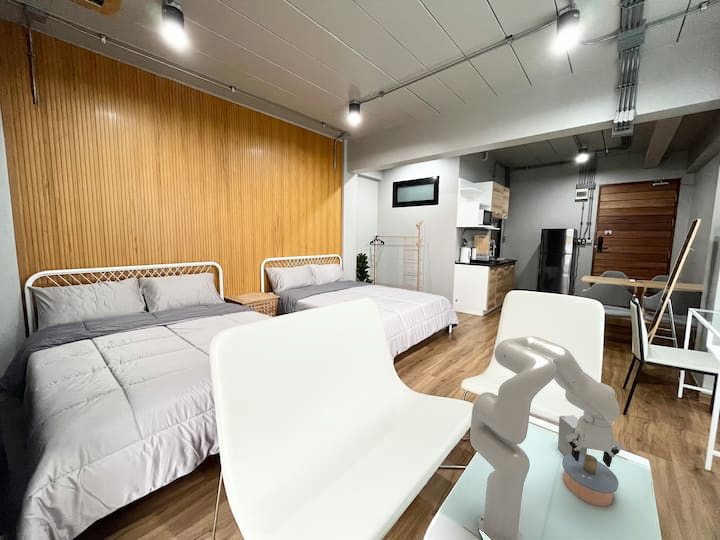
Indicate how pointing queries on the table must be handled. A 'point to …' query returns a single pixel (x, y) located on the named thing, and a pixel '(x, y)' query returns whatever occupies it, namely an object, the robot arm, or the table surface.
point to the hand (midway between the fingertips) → (590, 461)
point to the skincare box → (567, 427)
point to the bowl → (587, 492)
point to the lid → (590, 473)
